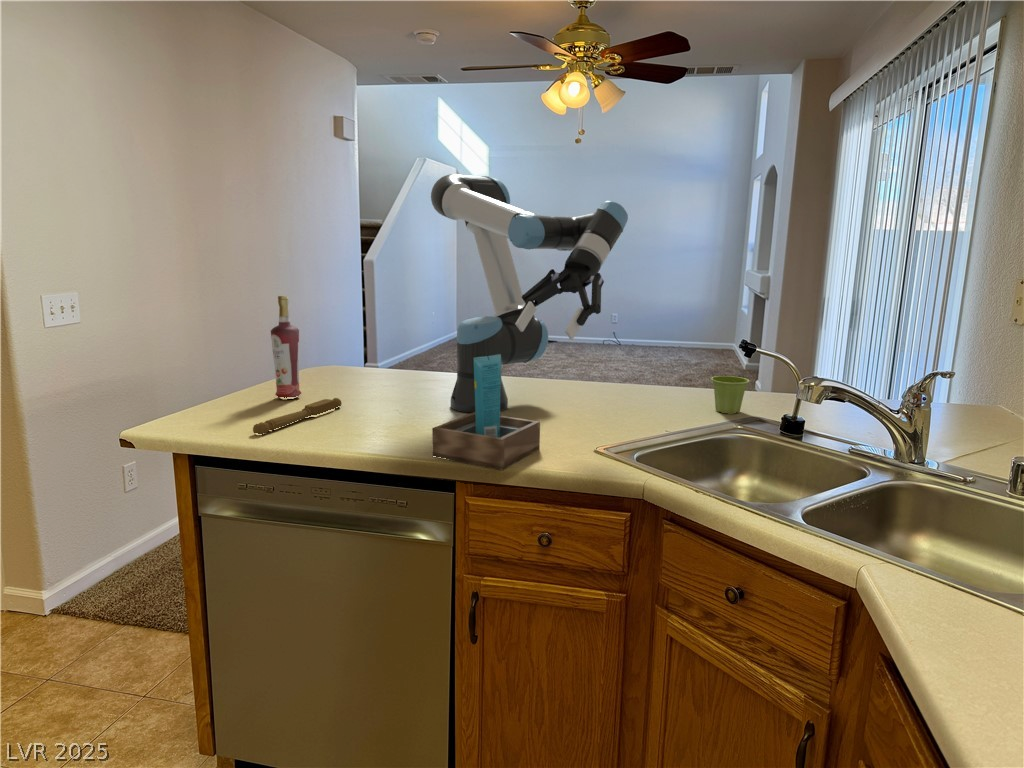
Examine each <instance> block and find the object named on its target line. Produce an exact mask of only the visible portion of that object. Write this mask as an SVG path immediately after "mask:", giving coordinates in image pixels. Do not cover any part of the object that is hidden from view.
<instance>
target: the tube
mask: <svg viewBox="0 0 1024 768" xmlns="http://www.w3.org/2000/svg"><path fill="white" fill-rule="evenodd" d="M501 378H502V366H501V355H500V354H498V355H492V356H485V357H476V358H474V384H475V413H476V434H480V435H486V436H492V437H498V438H500V416H501V411H500V387H501Z"/></svg>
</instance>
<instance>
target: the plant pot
mask: <svg viewBox="0 0 1024 768" xmlns="http://www.w3.org/2000/svg"><path fill="white" fill-rule="evenodd" d="M710 380H711V381H712V385H713V392H714V406H715V407H714V408H715V411H716V412H717V411H718V412H721V413H722V414H724V413H728V414H729V415H733V414H734V413H735V414H739V413H741V407H742V403H743V401H744V400H743V399H744V395H745V392H746V389H747V386H748V383H750V380H749V378H745V377H740V376H732V375H716V376H712V377H711V378H710ZM718 412H717V413H718ZM736 412H737V413H736ZM728 414H727V415H728Z"/></svg>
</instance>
